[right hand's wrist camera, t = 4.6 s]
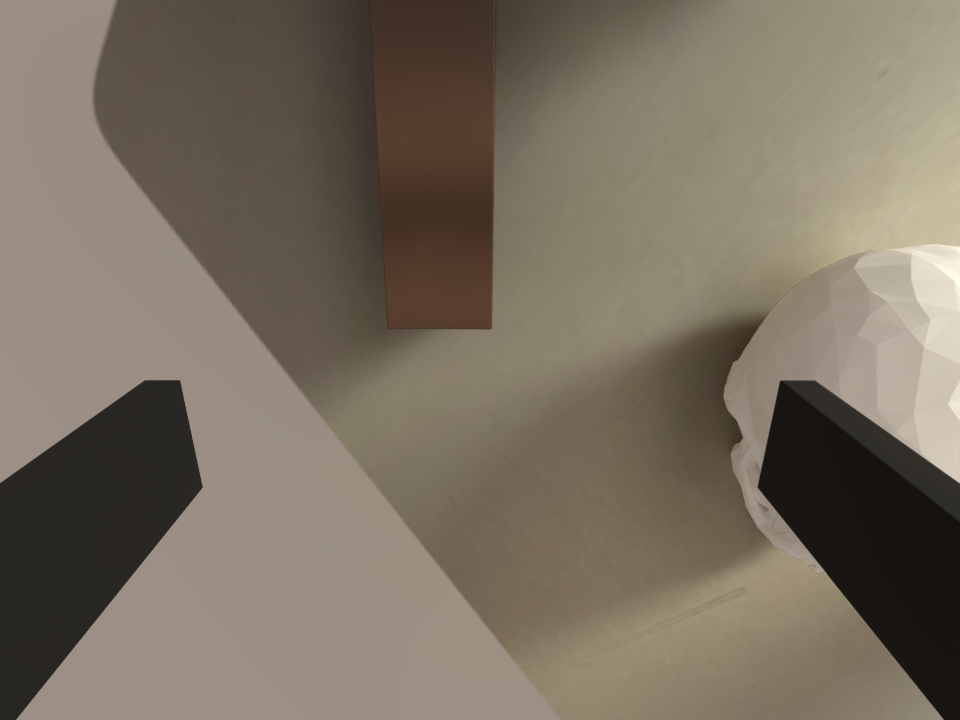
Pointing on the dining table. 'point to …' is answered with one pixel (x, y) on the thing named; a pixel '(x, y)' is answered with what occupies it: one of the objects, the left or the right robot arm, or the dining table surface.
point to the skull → (857, 361)
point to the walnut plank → (435, 158)
